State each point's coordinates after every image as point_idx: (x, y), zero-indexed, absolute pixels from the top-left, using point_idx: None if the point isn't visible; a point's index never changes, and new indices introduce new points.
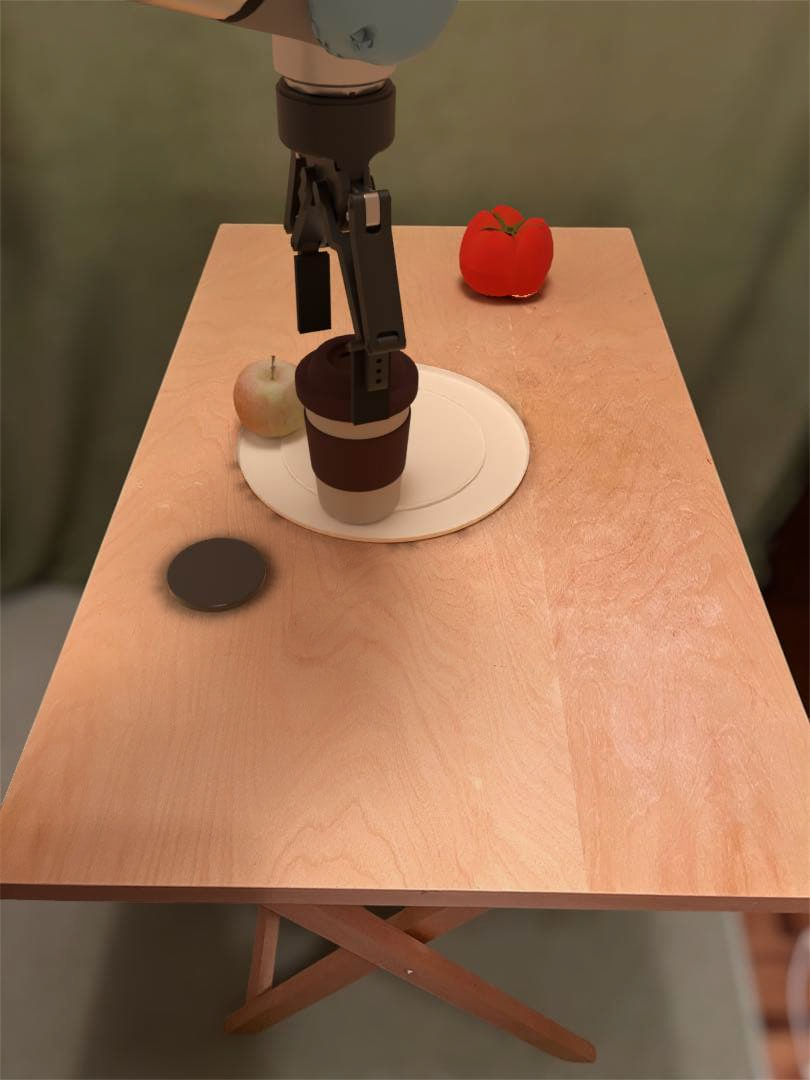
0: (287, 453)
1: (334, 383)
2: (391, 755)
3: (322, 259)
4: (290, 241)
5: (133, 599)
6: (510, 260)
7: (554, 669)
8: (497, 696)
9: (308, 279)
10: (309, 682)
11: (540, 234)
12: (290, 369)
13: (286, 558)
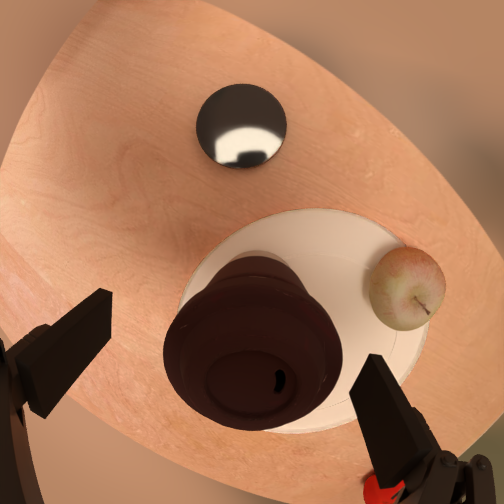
0: (352, 265)
1: (215, 329)
2: (48, 168)
3: (386, 476)
4: (454, 460)
5: (258, 61)
6: (381, 493)
7: (56, 289)
8: (52, 247)
9: (390, 432)
10: (107, 144)
11: None
12: (409, 320)
13: (228, 189)
